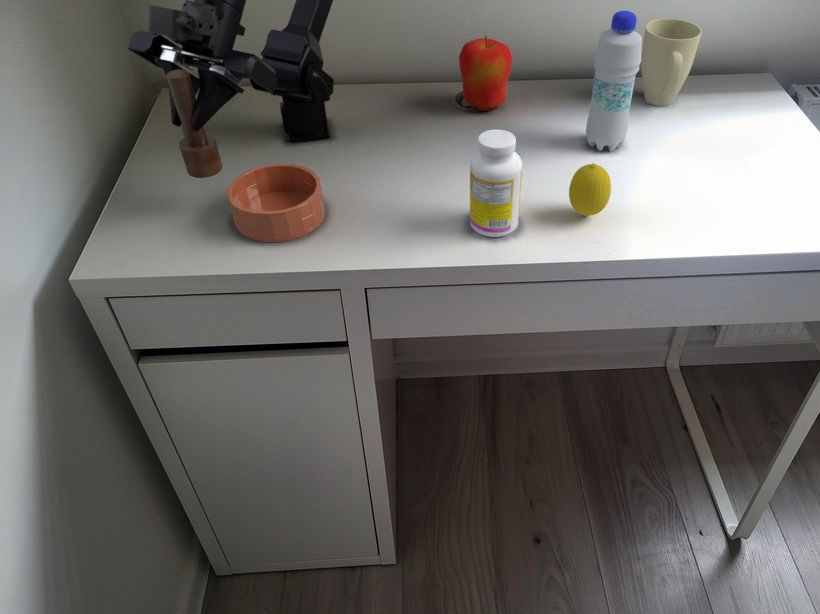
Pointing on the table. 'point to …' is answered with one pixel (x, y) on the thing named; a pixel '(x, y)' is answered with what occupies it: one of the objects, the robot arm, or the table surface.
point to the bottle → (614, 82)
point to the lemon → (590, 189)
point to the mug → (667, 58)
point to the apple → (485, 72)
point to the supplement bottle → (495, 184)
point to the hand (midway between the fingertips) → (184, 127)
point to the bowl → (276, 202)
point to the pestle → (196, 144)
